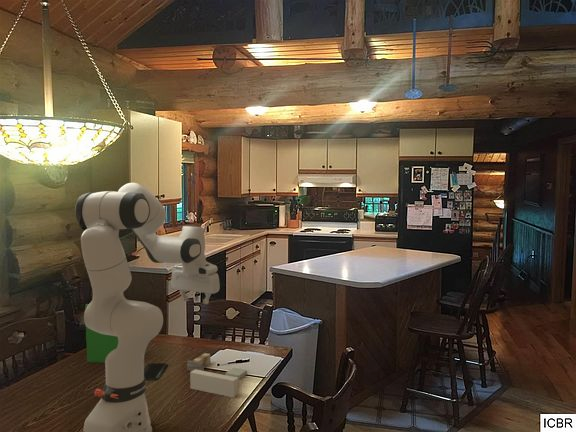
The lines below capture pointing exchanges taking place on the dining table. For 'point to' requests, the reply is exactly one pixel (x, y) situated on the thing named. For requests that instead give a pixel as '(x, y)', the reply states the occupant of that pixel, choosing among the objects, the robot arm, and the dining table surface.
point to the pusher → (199, 362)
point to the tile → (236, 372)
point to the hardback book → (99, 345)
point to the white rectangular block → (214, 383)
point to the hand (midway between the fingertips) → (195, 302)
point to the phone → (154, 371)
